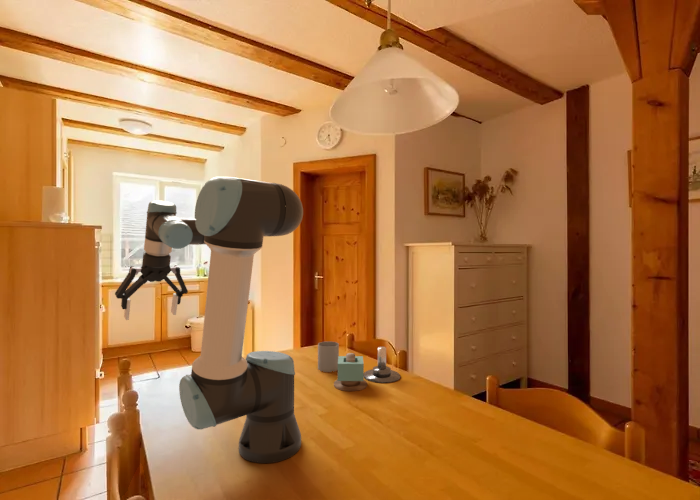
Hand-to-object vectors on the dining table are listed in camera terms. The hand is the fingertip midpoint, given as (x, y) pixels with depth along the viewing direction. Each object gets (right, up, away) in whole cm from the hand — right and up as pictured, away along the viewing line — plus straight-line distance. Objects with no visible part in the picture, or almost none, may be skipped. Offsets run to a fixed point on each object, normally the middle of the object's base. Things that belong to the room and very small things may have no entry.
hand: (150, 315), depth 120 cm
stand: (+63, -28, +16) cm, 71 cm away
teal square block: (+63, -25, +16) cm, 70 cm away
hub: (+75, -28, +25) cm, 84 cm away
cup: (+54, -28, +34) cm, 70 cm away
